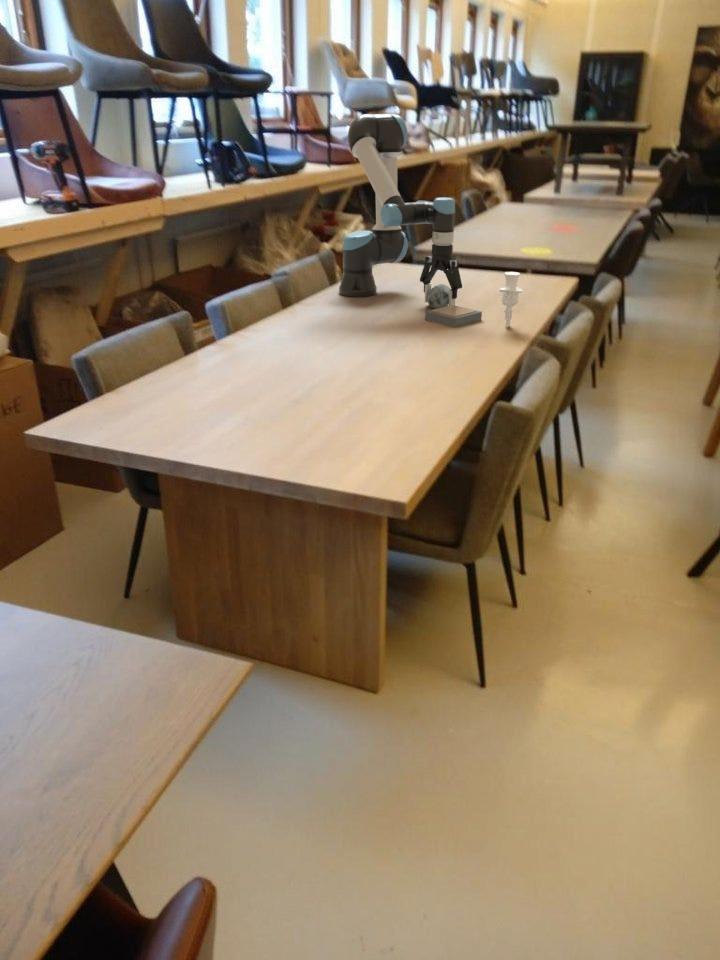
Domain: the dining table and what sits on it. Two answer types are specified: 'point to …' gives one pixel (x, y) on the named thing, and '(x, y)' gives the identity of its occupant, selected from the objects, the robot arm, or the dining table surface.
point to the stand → (453, 315)
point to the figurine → (510, 294)
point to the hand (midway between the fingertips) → (439, 304)
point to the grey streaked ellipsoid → (439, 296)
